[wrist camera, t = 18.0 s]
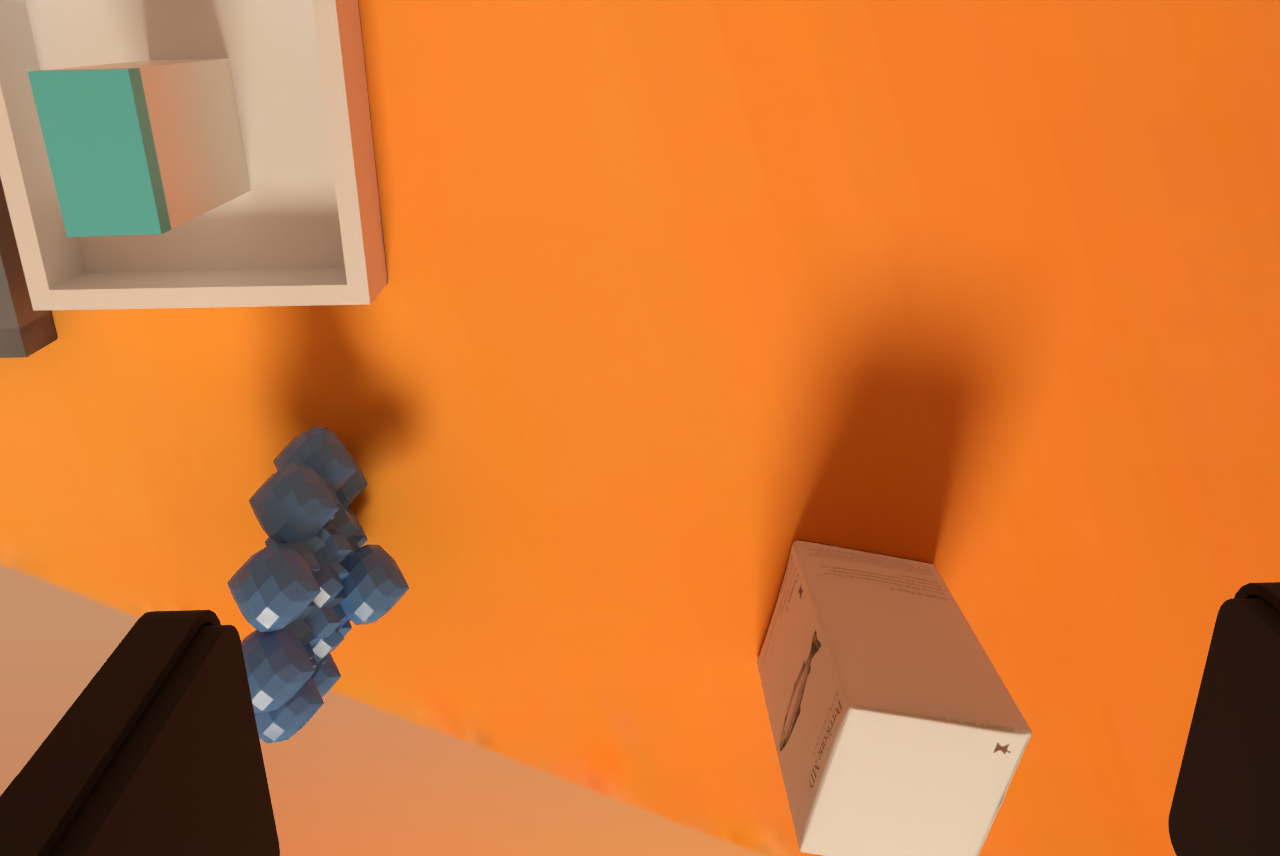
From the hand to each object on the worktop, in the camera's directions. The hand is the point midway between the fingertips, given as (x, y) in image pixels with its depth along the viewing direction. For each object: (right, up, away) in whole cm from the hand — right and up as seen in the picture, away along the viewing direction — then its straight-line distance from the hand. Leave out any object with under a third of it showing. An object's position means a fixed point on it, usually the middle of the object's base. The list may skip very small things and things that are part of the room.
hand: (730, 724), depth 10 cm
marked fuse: (-18, +15, +30) cm, 38 cm away
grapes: (-14, -1, +37) cm, 40 cm away
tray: (-18, +15, +30) cm, 38 cm away
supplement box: (+9, -6, +40) cm, 42 cm away
